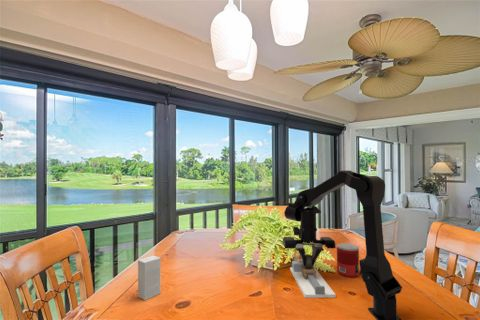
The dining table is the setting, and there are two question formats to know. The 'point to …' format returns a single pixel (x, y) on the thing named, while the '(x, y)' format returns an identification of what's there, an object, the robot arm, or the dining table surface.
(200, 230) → the dining table surface
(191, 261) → the dining table surface
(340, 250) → the canned food
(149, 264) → the skincare box
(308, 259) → the carriage
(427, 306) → the dining table surface
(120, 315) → the dining table surface
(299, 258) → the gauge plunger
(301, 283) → the plate
